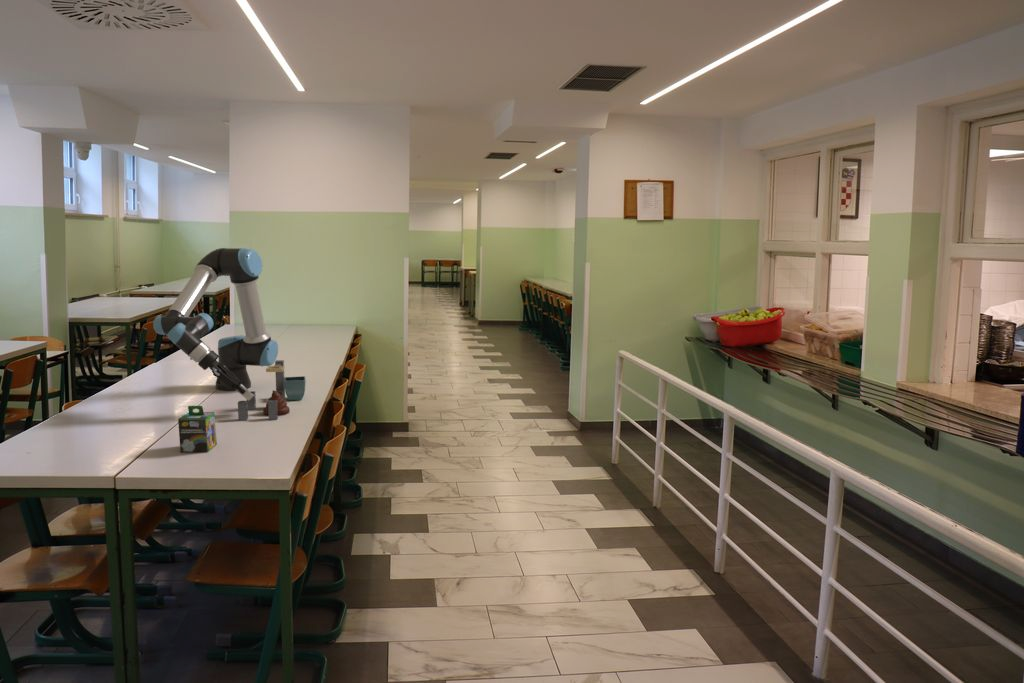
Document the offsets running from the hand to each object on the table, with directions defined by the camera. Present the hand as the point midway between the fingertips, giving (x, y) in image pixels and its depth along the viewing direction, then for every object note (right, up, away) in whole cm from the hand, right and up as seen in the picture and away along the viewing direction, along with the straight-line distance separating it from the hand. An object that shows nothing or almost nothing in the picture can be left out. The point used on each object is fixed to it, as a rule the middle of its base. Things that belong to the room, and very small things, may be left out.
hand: (251, 398), depth 312 cm
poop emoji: (+9, -7, +3) cm, 11 cm away
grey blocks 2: (+9, -6, +2) cm, 11 cm away
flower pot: (+10, -3, +28) cm, 30 cm away
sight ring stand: (+9, -6, +7) cm, 12 cm away
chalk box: (-2, -14, -47) cm, 49 cm away
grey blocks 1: (-2, -6, 0) cm, 7 cm away
